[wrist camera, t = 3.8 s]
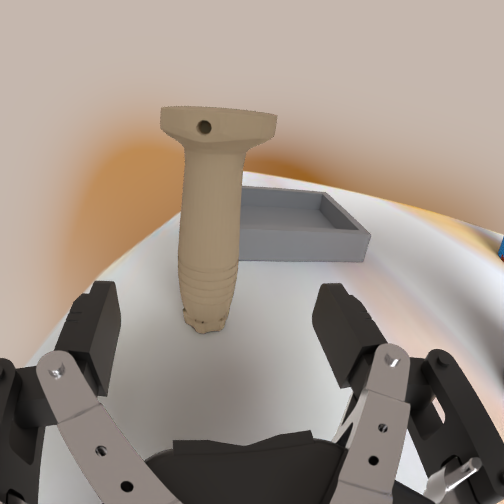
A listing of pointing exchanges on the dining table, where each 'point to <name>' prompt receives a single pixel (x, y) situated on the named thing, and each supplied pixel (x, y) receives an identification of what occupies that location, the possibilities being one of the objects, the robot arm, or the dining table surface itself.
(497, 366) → the dining table surface
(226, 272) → the handle
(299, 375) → the dining table surface
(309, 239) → the tray
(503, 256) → the thermos
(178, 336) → the dining table surface
